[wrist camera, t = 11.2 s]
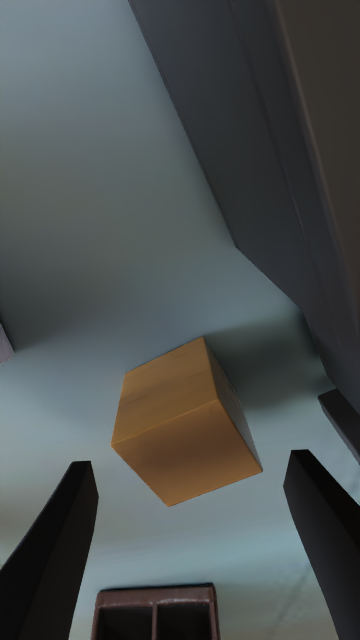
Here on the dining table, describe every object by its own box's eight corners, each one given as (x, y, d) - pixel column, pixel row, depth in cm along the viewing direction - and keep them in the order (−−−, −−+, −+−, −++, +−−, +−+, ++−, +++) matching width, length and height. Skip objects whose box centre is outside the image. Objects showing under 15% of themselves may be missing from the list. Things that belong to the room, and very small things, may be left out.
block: (238, 397, 15) (264, 472, 11) (167, 427, 16) (168, 508, 12) (203, 335, 14) (218, 398, 10) (124, 372, 14) (109, 446, 10)
